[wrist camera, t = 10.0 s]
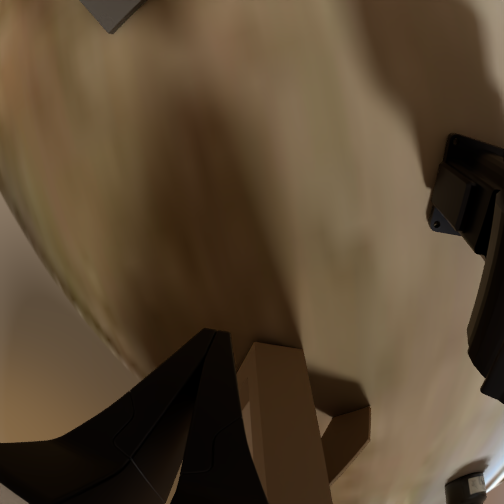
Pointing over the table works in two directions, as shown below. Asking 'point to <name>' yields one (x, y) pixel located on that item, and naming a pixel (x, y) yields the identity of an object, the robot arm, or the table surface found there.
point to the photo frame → (294, 428)
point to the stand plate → (112, 11)
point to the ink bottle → (466, 490)
